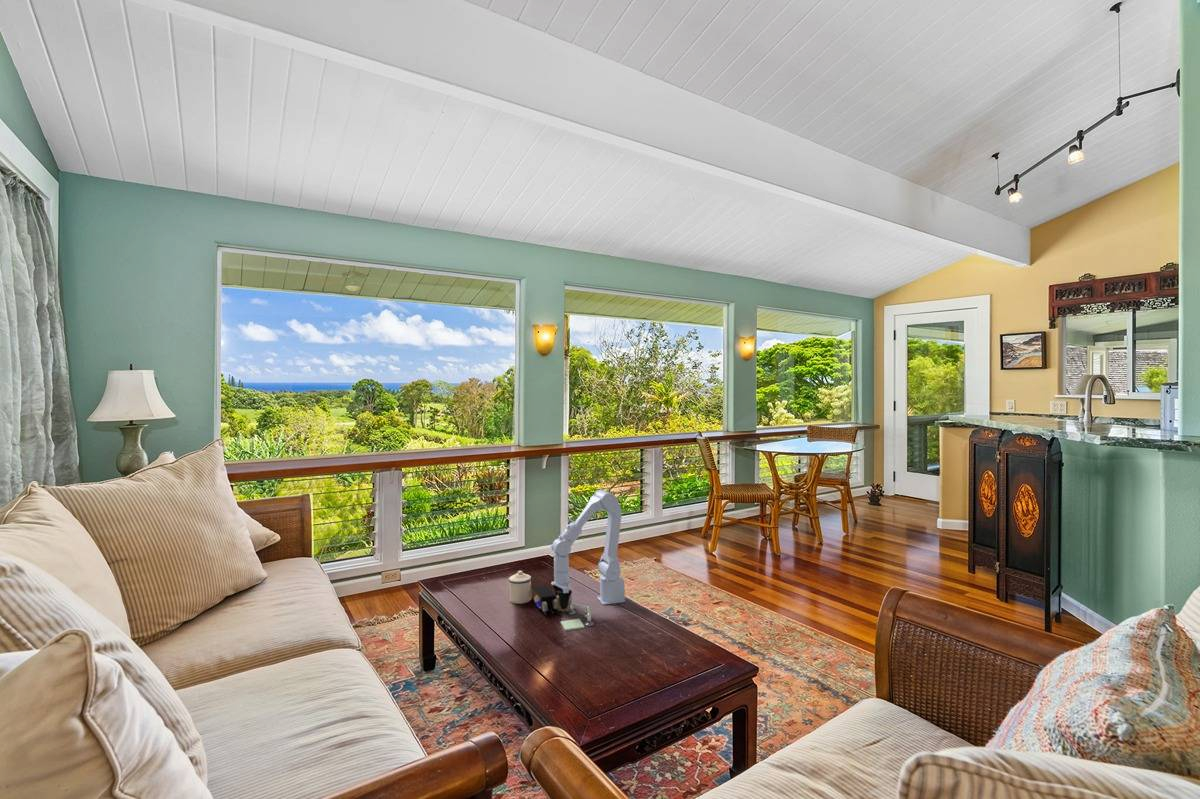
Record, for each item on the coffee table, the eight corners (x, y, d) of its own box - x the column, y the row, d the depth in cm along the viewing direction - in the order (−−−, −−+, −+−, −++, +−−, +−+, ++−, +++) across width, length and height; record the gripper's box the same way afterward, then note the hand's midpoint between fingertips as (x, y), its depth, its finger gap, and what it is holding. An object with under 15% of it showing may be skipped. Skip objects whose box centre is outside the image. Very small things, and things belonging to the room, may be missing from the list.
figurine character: (560, 618, 208) (546, 600, 221) (560, 599, 207) (546, 582, 220) (543, 621, 205) (530, 603, 218) (543, 602, 204) (530, 585, 218)
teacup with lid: (534, 601, 220) (534, 572, 220) (512, 605, 217) (512, 576, 216) (525, 592, 231) (525, 564, 231) (504, 595, 227) (504, 567, 227)
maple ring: (568, 604, 217) (568, 592, 217) (573, 609, 212) (573, 597, 212) (555, 607, 215) (555, 594, 215) (559, 612, 210) (559, 599, 210)
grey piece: (587, 609, 212) (586, 599, 212) (598, 624, 198) (598, 614, 198) (566, 611, 210) (566, 601, 210) (576, 628, 195) (576, 617, 195)
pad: (579, 620, 202) (579, 618, 202) (584, 628, 195) (584, 626, 195) (560, 623, 200) (560, 621, 200) (565, 630, 193) (565, 629, 193)
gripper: (547, 565, 218) (548, 599, 219) (555, 577, 204) (556, 613, 205) (564, 563, 220) (565, 597, 221) (573, 575, 207) (574, 611, 207)
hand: (562, 605), depth 213 cm, fingers open, 6 cm apart
